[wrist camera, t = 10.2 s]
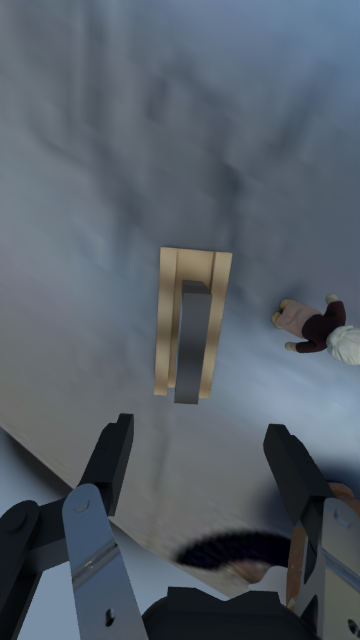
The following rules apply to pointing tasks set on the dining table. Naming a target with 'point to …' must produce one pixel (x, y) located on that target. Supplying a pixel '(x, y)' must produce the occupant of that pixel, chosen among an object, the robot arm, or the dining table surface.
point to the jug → (299, 544)
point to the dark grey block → (191, 340)
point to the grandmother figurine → (320, 329)
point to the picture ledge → (172, 274)
